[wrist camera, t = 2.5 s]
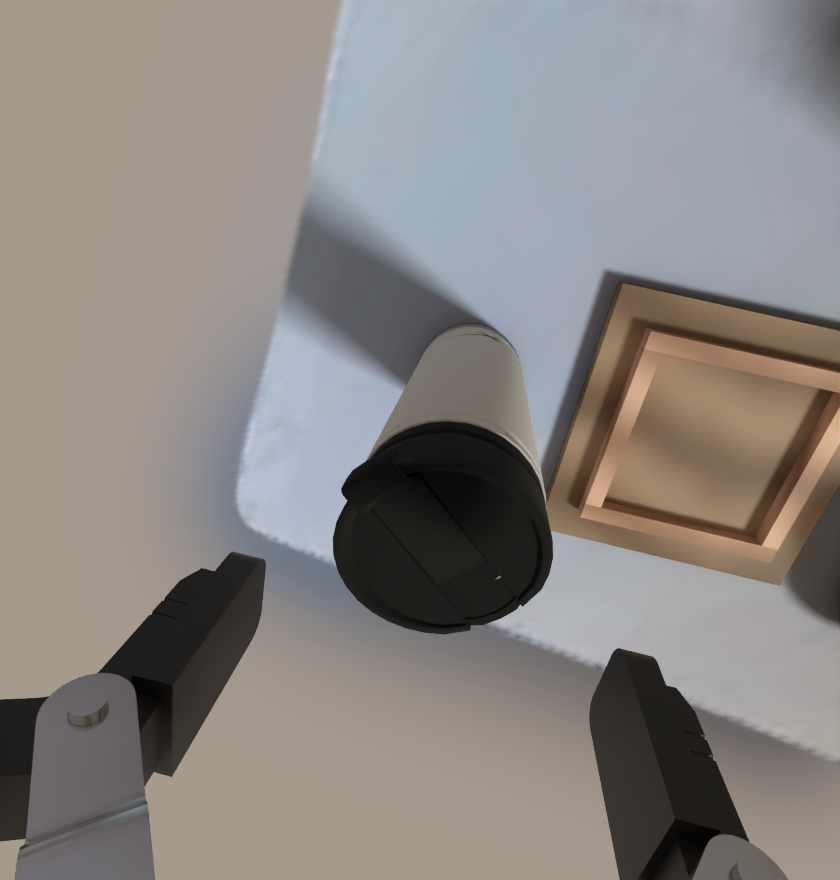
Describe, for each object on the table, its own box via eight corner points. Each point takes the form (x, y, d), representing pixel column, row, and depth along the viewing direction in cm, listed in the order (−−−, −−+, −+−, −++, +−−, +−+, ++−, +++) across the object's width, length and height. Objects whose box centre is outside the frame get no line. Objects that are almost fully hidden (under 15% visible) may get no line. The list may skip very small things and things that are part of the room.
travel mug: (481, 297, 30) (464, 407, 12) (540, 387, 32) (603, 606, 14) (396, 355, 32) (272, 526, 14) (456, 438, 34) (413, 688, 16)
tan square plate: (619, 281, 29) (627, 285, 27) (907, 345, 29) (936, 353, 27) (537, 519, 36) (540, 535, 34) (772, 576, 35) (787, 595, 33)
